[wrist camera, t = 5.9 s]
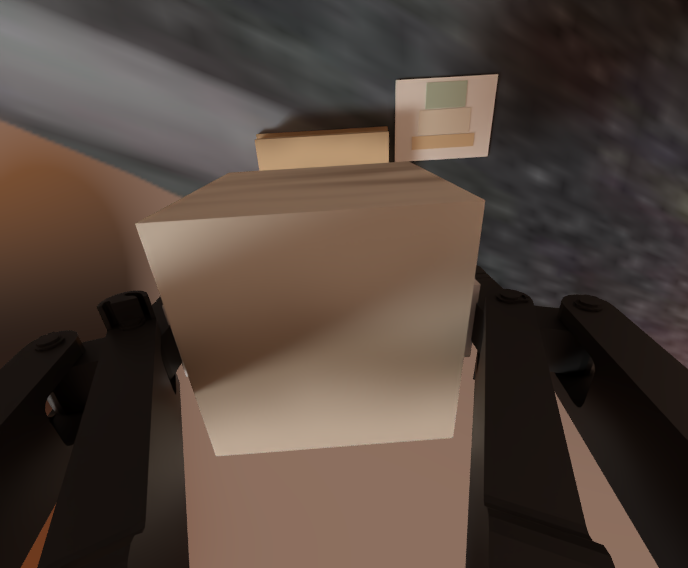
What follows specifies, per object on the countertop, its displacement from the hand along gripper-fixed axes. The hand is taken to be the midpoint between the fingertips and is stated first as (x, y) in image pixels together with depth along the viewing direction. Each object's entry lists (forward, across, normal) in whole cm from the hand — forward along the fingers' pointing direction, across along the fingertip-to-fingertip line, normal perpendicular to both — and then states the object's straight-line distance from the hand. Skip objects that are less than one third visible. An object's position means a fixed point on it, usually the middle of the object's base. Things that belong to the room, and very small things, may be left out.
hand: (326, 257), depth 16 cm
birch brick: (0, 0, 0) cm, 0 cm away
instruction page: (+15, +10, +6) cm, 19 cm away
